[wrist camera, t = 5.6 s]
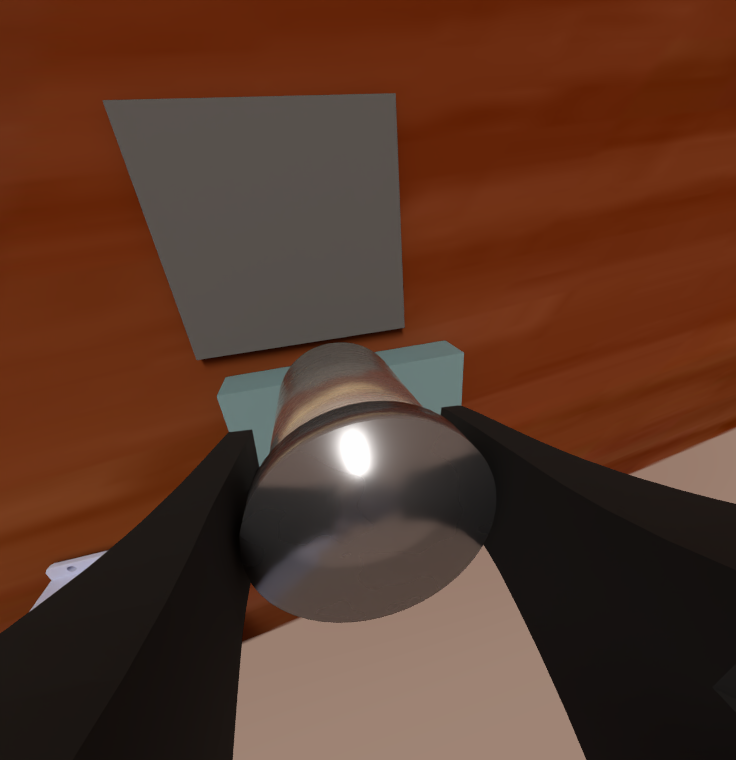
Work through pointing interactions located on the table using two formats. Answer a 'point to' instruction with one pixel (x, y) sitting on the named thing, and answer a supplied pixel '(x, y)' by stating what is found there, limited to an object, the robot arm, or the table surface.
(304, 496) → the door knob
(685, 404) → the table surface
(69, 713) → the robot arm
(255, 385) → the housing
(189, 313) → the rubber mat
